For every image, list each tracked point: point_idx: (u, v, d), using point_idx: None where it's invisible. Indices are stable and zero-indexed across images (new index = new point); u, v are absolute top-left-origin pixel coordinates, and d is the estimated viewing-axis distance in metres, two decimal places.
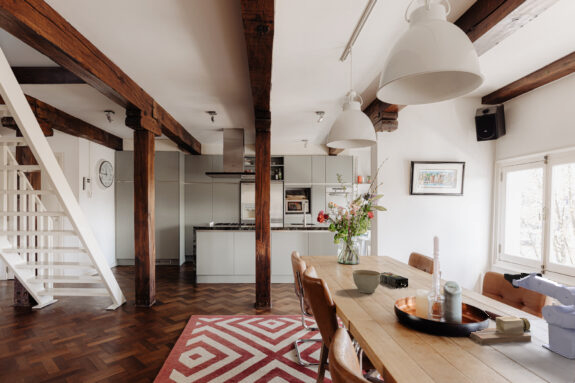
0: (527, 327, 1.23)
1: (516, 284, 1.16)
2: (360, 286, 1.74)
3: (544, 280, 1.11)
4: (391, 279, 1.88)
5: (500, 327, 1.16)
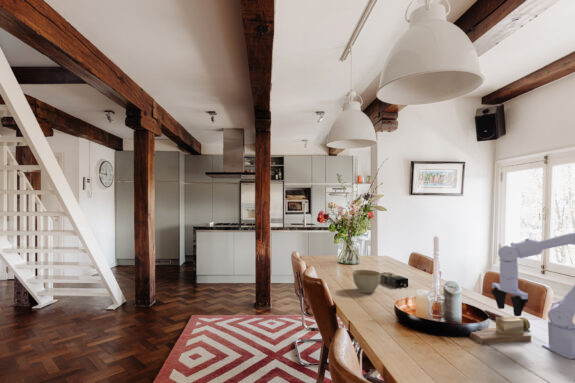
0: (527, 327, 1.23)
1: (526, 294, 1.10)
2: (360, 286, 1.74)
3: (500, 274, 1.19)
4: (391, 279, 1.88)
5: (500, 327, 1.16)
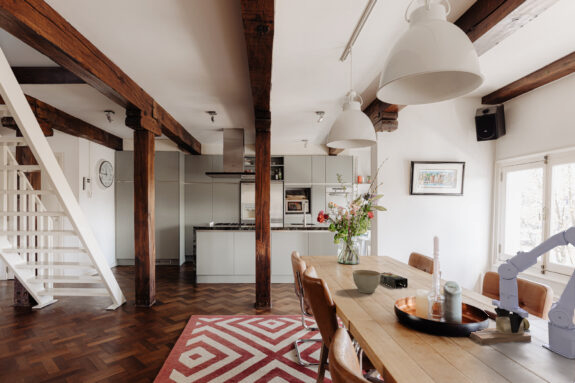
0: (526, 327, 1.23)
1: (526, 313, 1.10)
2: (360, 286, 1.74)
3: None
4: (390, 279, 1.88)
5: (500, 327, 1.16)
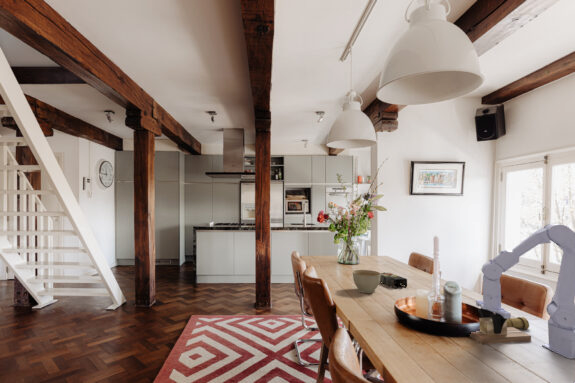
0: (526, 326, 1.23)
1: (509, 313, 1.09)
2: (360, 286, 1.74)
3: (483, 292, 1.17)
4: (390, 279, 1.88)
5: (483, 328, 1.15)
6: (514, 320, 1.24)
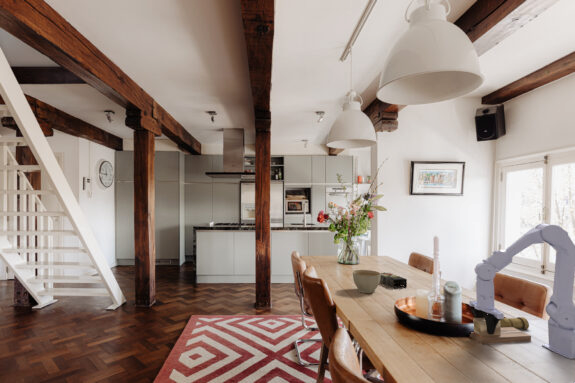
0: (526, 326, 1.23)
1: (502, 314, 1.09)
2: (360, 286, 1.74)
3: (477, 293, 1.16)
4: (389, 279, 1.87)
5: (477, 329, 1.14)
6: (514, 320, 1.24)
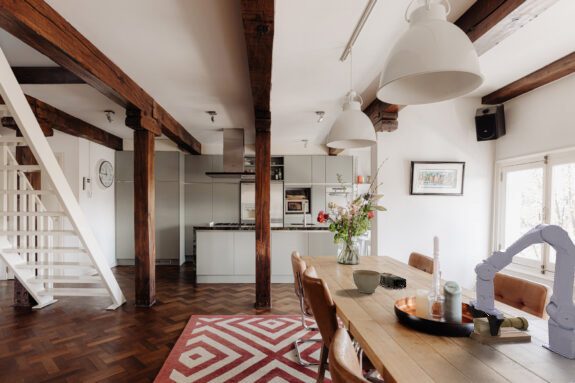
0: (525, 326, 1.24)
1: (502, 314, 1.09)
2: (360, 286, 1.74)
3: (477, 293, 1.16)
4: (389, 279, 1.87)
5: (477, 329, 1.14)
6: (513, 320, 1.24)
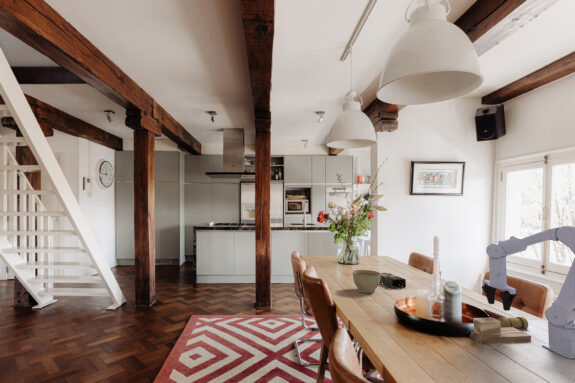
0: (525, 326, 1.24)
1: (514, 289, 1.16)
2: (360, 286, 1.74)
3: (489, 270, 1.25)
4: (388, 280, 1.87)
5: (477, 329, 1.14)
6: (513, 320, 1.25)
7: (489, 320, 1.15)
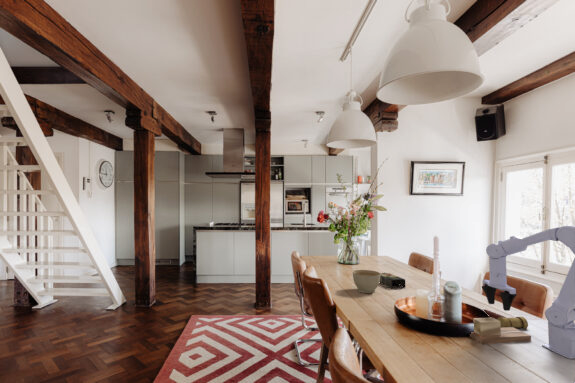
0: (525, 326, 1.24)
1: (514, 289, 1.16)
2: (360, 286, 1.74)
3: (489, 270, 1.25)
4: (388, 280, 1.87)
5: (477, 329, 1.14)
6: (513, 319, 1.25)
7: (489, 320, 1.15)
